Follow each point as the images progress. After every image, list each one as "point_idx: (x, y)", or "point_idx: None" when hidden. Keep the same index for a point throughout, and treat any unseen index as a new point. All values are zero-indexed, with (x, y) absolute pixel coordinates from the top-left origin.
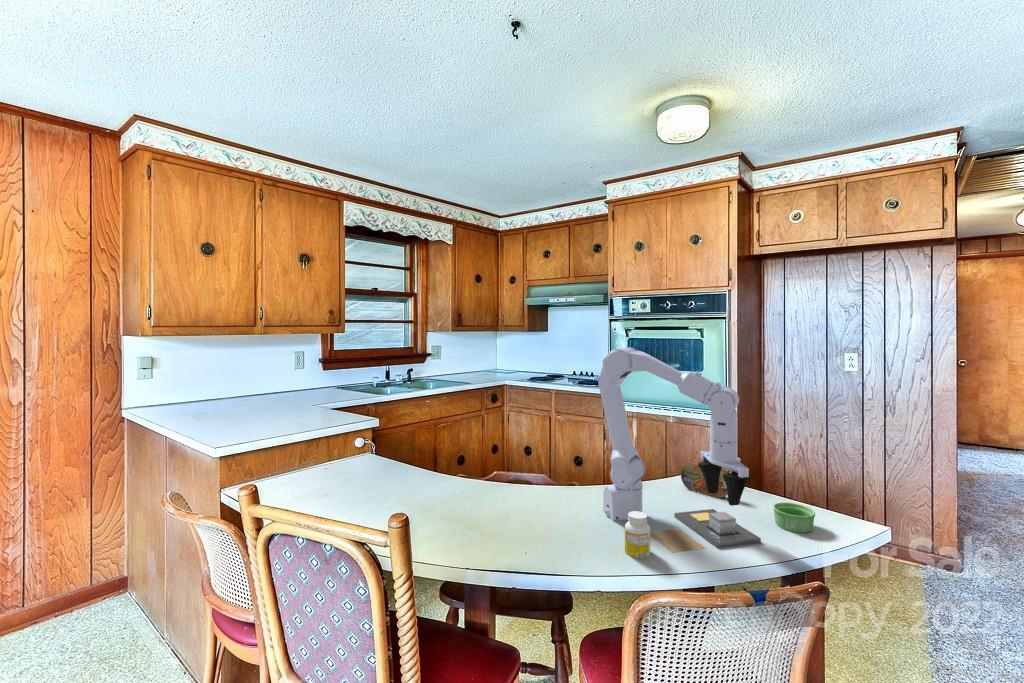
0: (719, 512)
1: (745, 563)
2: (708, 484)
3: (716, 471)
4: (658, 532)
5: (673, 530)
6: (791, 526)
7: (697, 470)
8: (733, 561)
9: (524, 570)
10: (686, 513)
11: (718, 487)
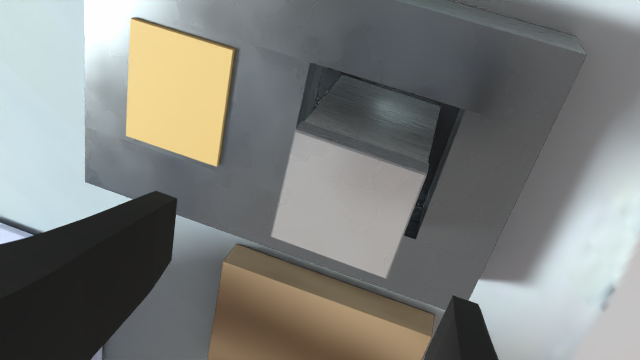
0: (293, 175)
1: (605, 249)
2: (120, 318)
3: (20, 342)
4: (219, 351)
5: (226, 294)
6: None
7: None
8: (552, 273)
9: None
10: (105, 133)
11: None
